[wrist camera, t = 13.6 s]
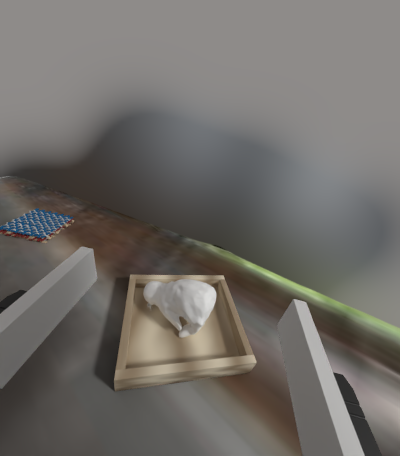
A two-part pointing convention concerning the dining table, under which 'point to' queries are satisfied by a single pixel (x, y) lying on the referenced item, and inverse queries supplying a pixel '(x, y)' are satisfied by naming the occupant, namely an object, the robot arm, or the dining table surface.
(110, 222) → the dining table surface
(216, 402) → the dining table surface
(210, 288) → the white rounded lump
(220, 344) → the birch tray
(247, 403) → the dining table surface
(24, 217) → the woven mat
